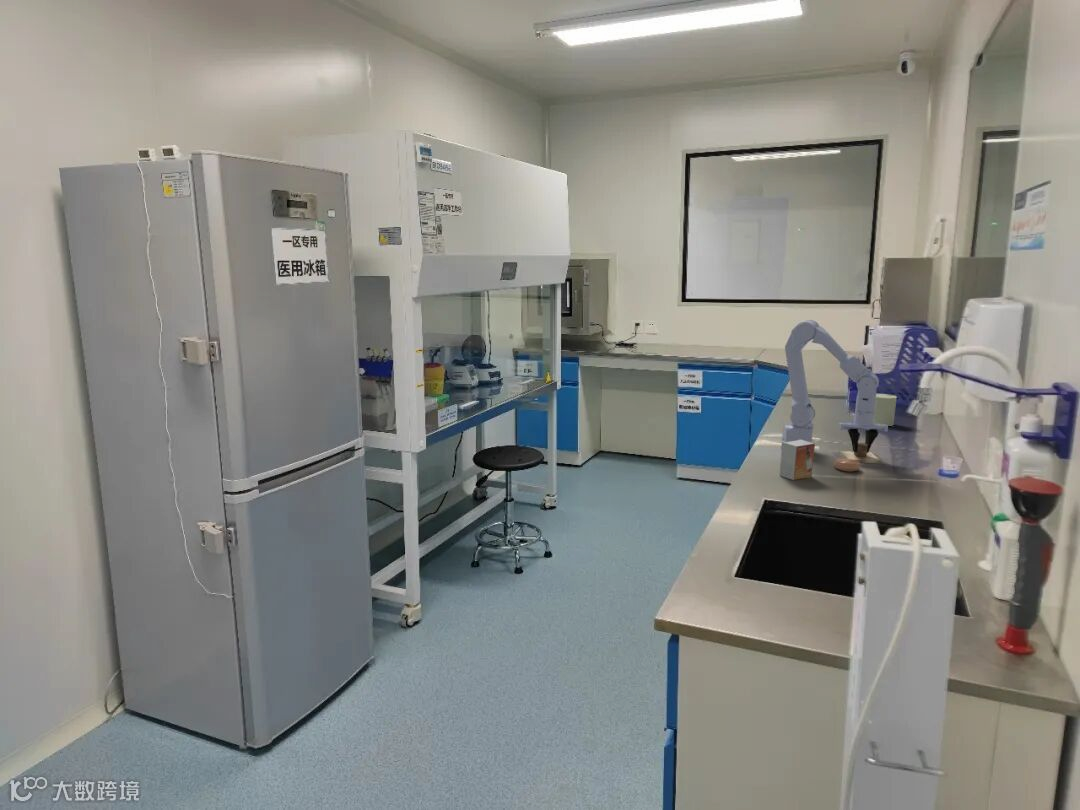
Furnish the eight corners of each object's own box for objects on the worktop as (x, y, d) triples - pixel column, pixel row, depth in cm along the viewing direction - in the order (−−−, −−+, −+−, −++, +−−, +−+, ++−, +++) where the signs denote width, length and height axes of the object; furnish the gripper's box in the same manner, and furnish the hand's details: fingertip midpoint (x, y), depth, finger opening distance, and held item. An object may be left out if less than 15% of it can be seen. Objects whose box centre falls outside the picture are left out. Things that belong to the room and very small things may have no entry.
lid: (848, 461, 221) (850, 447, 220) (839, 453, 231) (840, 439, 230) (881, 463, 220) (883, 448, 219) (870, 454, 229) (872, 440, 228)
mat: (842, 464, 220) (843, 462, 220) (831, 454, 232) (832, 452, 232) (889, 466, 219) (889, 464, 219) (875, 455, 230) (875, 454, 230)
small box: (793, 480, 204) (796, 446, 201) (778, 475, 208) (781, 441, 206) (812, 477, 207) (815, 443, 205) (797, 472, 212) (800, 438, 210)
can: (899, 425, 272) (902, 396, 270) (881, 427, 269) (885, 397, 266) (879, 420, 281) (883, 391, 278) (862, 422, 277) (866, 393, 275)
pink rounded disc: (837, 473, 211) (838, 464, 210) (831, 466, 217) (832, 457, 217) (861, 474, 210) (863, 465, 209) (854, 467, 217) (855, 458, 216)
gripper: (845, 412, 219) (841, 454, 222) (893, 414, 217) (888, 456, 220) (838, 408, 226) (834, 448, 229) (885, 409, 224) (880, 450, 227)
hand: (860, 451), depth 225 cm, fingers closed on lid, 3 cm apart
